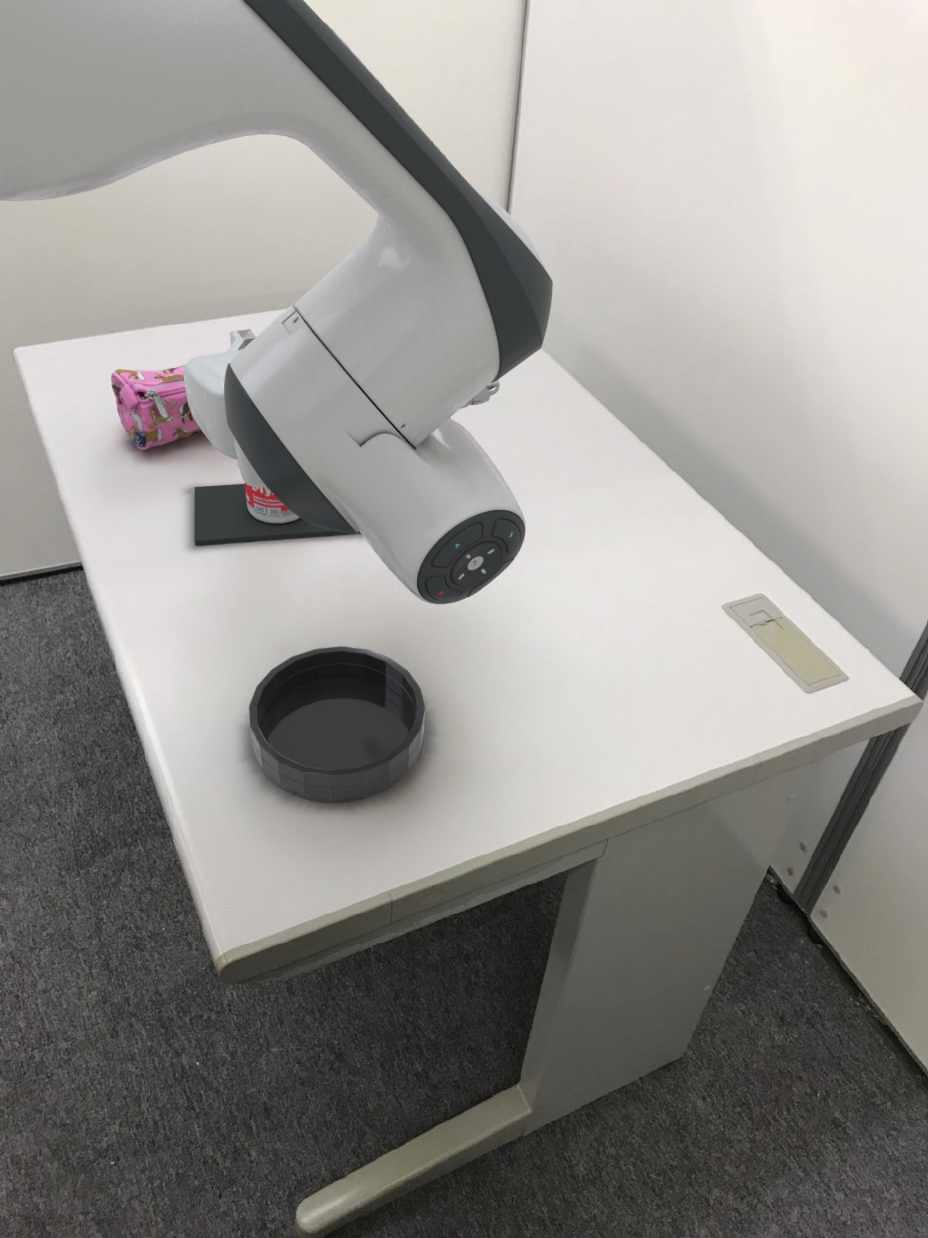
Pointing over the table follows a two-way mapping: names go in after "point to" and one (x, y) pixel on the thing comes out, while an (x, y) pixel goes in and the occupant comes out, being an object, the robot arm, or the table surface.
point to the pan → (337, 724)
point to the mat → (240, 519)
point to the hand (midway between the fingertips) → (302, 329)
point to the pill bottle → (267, 506)
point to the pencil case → (153, 406)
